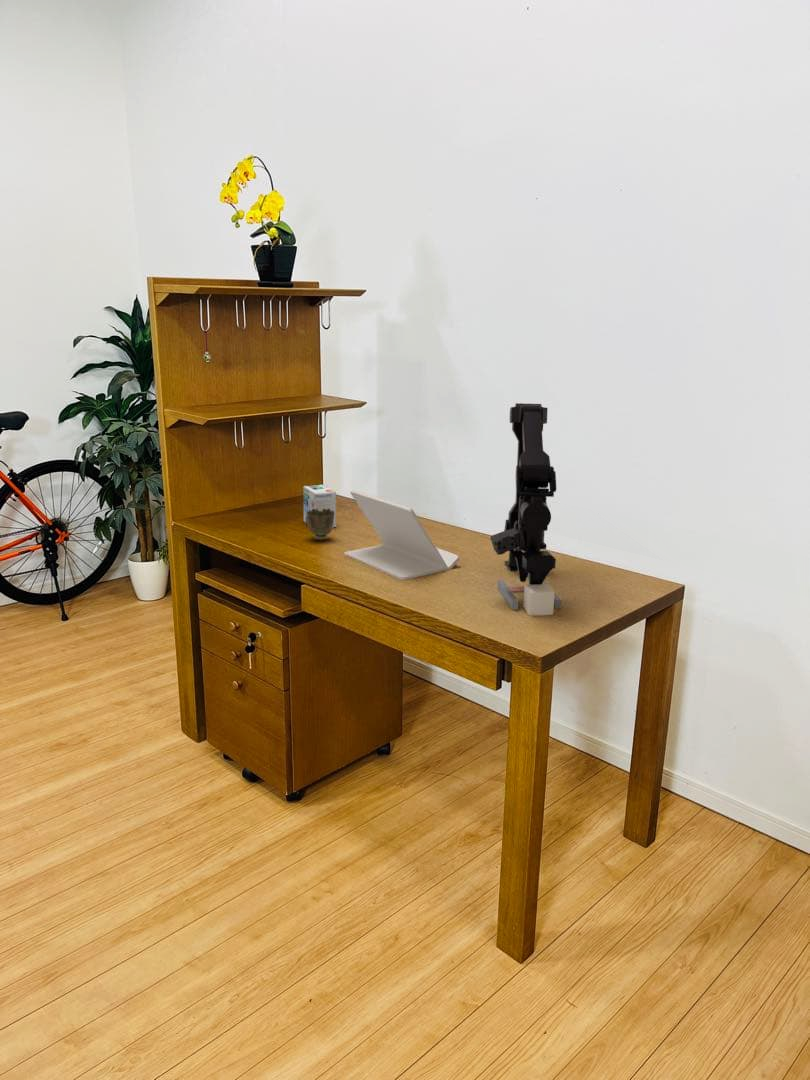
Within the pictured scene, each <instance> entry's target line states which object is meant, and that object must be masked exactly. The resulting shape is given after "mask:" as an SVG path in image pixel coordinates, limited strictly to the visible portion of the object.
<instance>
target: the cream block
mask: <svg viewBox="0 0 810 1080" xmlns="http://www.w3.org/2000/svg"><path fill="white" fill-rule="evenodd" d="M523 586H524V592H523V605H522V606H523V607H522V608H523V609H524V610H525V612H526V613H527V614H528V615H529V616H553V615H554V609H555V608H554V593H556V592H555V591H554V590H553V588H552V587H551V586H550V585H549V584H548V583H547V584H537V585H529V584H523Z"/></svg>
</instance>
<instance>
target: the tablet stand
mask: <svg viewBox="0 0 810 1080" xmlns="http://www.w3.org/2000/svg"><path fill="white" fill-rule="evenodd" d="M350 495H351V496H352V498H353V499H354V500H355V502H356V504H357V505H358V507H359V508H360V510H361V511H362V513H363V515H364V516H365V517H366V519H367V520H368V522H369V524H370V525H371V526H372V528H373V529H374V531H375V532H376V533H377V536H378V537H379V538H380V540H381V544H379V545H373V546H368V547H363V548H358V549H354V550H348V551H344V554H345V555H347V556H349V557H348V558H350V557H352V558H355V559H357V560H359V561H361V562H363V563H365V564H364V565H366V564H367V565H366V566H368V565H370V566H372V567H371V568H373V567H374V568H373V569H375V568H376V570H377V569H378V571H379V570H380V572H382V573H384V572H385V573H384V574H386V573H387V575H389V576H392V577H393V578H395V577H396V579H398V580H401V581H405V580H410V579H414V578H419V577H423V576H426V575H432V574H435V573H439V572H444V571H449V570H452V569H453V568H454V567H455V566H456V565H457V563H458V562H460V560H461V559H460V557H459V555H458V554H455V553H452V552H450V551H447V550H443V549H441V548H439V547H436V545H435V543H434V542H433V539H432V538H431V537H430V535H429V533H428V531H427V530H426V529H425V527H424V525H423V524H422V522H421V521H420V519H419V518H418V516H417V514H416V512H415V511H414V509H413V508H412V507H409V506H407V505H403V504H400V503H397V502H393V501H391V500H387V499H385V498H381V497H378V496H375V495H371V494H369V493H366V492H362V491H359V490H356V489H351V490H350ZM345 555H344V556H345ZM347 556H346V557H347ZM352 558H351V559H352ZM357 560H356V561H357ZM359 561H358V562H359ZM361 562H360V563H361ZM363 563H362V564H363ZM370 566H369V567H370Z"/></svg>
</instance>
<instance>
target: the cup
mask: <svg viewBox="0 0 810 1080" xmlns="http://www.w3.org/2000/svg"><path fill="white" fill-rule="evenodd" d="M334 513H335V512H333V510H332V512H331V510H330V509H327V510H326V509H323V511H322V512H321V511H320V512H319V511H318V509H316V510H315V509H312V510H311V511H310V510H309V512H308V511H307V518H308V524H307V526H308V528H309V531H310V532H311V533H312V534H313V535H314V536H313V538H314V540H315V541H317V540H319V541H318V542H324V541H323V540H325V541H327V540H328V538H329V536H328V534H330V533H331V532H332V531H333V529H334V528H333V522H334Z"/></svg>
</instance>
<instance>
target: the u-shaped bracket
mask: <svg viewBox="0 0 810 1080" xmlns="http://www.w3.org/2000/svg"><path fill="white" fill-rule="evenodd" d="M542 584H548V582H546V581H545V580H544V581H543V583H542ZM497 590H498V591H499V593H500V594H501V596H502V597H503V599H505V601H506V603H507V604H508V606H509V607H510V608H511V610H512V611H517V610H519V599H518V598H517V596H516V595H515V593H524V585H520V586H516V585H513V586H508V585H507V583H506V582H505V581H504V579H497ZM561 604H562V599H561V598H560V596H559V595H558V594H557V593H556V592H555V593H554V608H553V609H555V610H556V609H561Z"/></svg>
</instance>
